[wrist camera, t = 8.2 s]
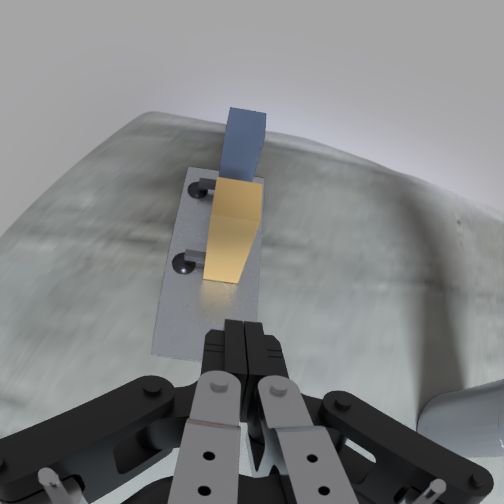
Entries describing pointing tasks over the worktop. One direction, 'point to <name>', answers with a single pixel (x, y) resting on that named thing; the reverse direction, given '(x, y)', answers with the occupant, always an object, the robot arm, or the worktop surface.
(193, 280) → the bolt plate
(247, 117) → the fixed leg
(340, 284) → the worktop surface
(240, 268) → the block
